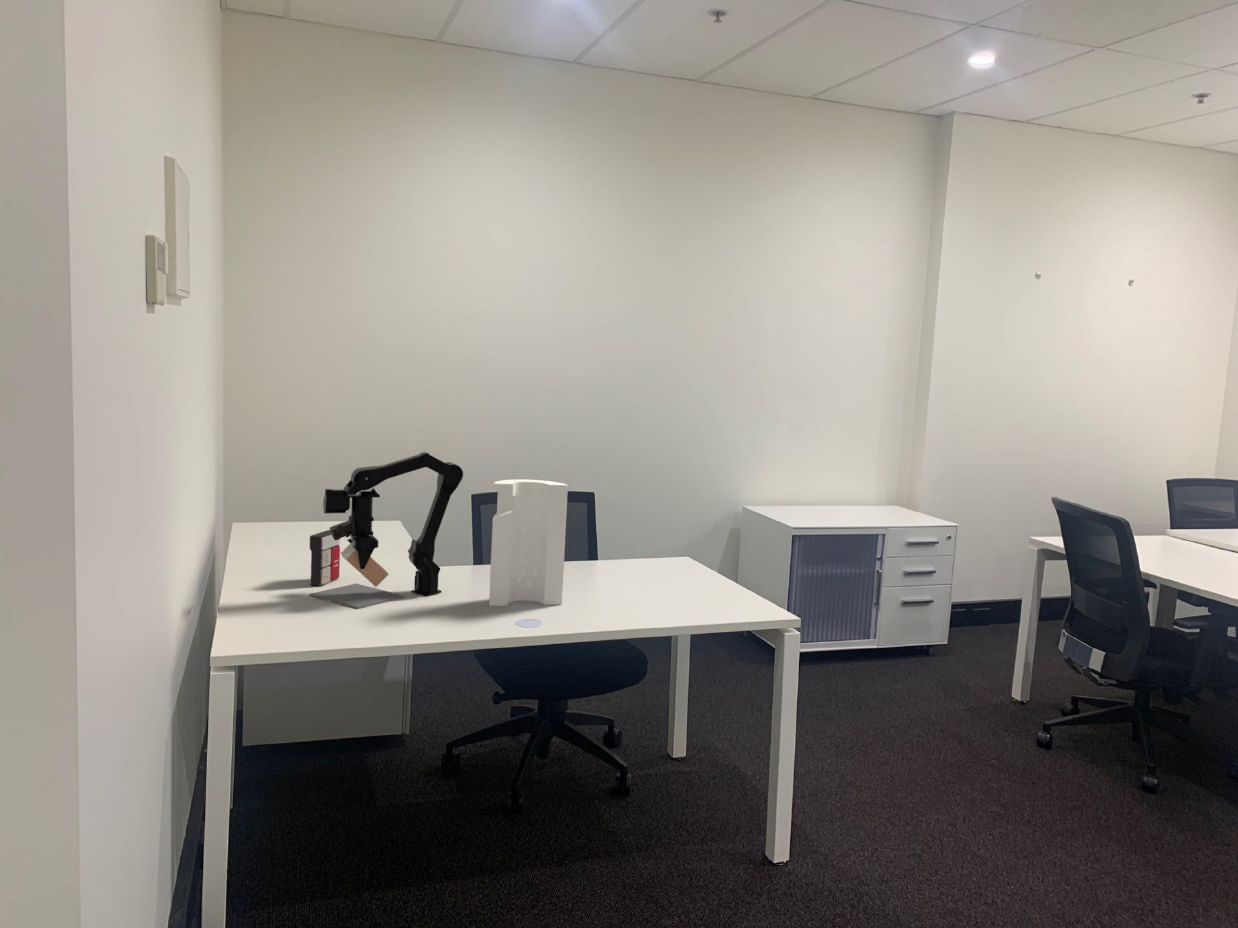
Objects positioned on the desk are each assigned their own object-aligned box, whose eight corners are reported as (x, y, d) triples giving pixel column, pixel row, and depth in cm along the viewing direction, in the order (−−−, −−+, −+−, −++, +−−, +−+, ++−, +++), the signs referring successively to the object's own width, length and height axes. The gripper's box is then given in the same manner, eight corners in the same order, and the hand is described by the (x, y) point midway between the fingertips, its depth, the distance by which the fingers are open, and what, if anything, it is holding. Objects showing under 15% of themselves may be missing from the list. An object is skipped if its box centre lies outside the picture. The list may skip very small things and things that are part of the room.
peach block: (385, 569, 257) (353, 540, 252) (388, 574, 252) (356, 544, 247) (372, 582, 256) (340, 553, 250) (376, 587, 251) (343, 557, 246)
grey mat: (403, 597, 254) (404, 595, 254) (357, 608, 239) (358, 607, 239) (356, 584, 264) (356, 583, 264) (309, 595, 250) (309, 593, 250)
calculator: (321, 587, 260) (322, 537, 258) (308, 585, 261) (309, 535, 259) (340, 578, 270) (341, 530, 269) (327, 577, 271) (329, 529, 270)
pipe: (562, 605, 255) (489, 606, 249) (554, 595, 266) (484, 596, 260) (568, 485, 251) (494, 484, 245) (560, 480, 262) (489, 478, 256)
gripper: (327, 507, 254) (326, 561, 256) (337, 519, 237) (336, 575, 239) (366, 507, 259) (365, 559, 261) (379, 518, 242) (377, 573, 244)
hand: (360, 566), depth 251 cm, fingers closed on peach block, 5 cm apart
